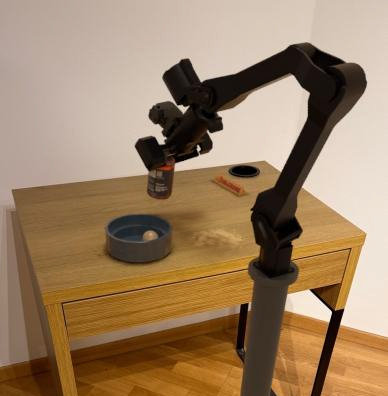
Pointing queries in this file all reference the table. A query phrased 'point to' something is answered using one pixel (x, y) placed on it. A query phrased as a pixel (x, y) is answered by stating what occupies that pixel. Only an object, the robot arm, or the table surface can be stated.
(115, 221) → the bowl
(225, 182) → the chocolate bar
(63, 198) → the table surface
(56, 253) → the table surface
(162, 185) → the supplement bottle
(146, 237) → the bead
